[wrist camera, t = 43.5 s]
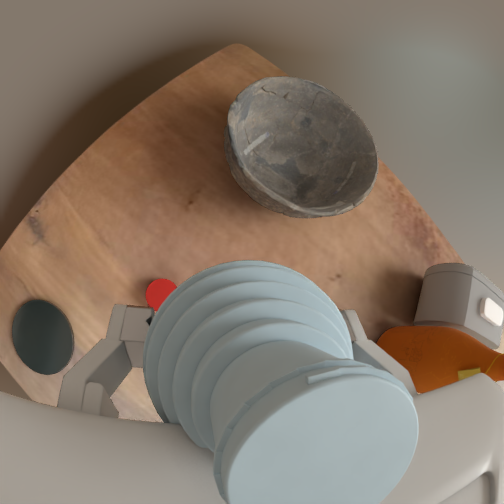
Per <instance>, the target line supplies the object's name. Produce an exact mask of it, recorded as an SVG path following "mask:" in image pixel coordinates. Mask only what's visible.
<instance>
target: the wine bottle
mask: <svg viewBox="0 0 504 504" xmlns="http://www.w3.org/2000/svg"><path fill="white" fill-rule="evenodd" d="M376 345H378V346H379V347H380V348H381V349H382V350H384V351H385V352H386V353H387V354H388V355H390V356H391V357H392V358H393V359H395V360H396V361H397V362H398V363H399V364H400V365H402V366H403V367H404V368H405V369H406V370H408V372H409V374H410V377H411V379H412V381H413V384H414V386H415V389H416V391H417V392H418V393H425V392H428V391H431V390H434V389H437V388H440V387H443V386H446V385H449V384H452V383H455V382H457V381H460V380H463V379H465V378H468V377H470V376H473V375H475V374H478V373H484V374H486V375H487V376H489V377H490V378H491V379H492V380H493V381H495V382H497V381H500V380H504V354H501V353H498V352H496V351H494V350H492V349H490V348H489V347H487V346H486V345H484V344H483V343H481V342H480V341H478V340H477V339H475V338H474V337H472V336H470V335H468V334H466V333H464V332H462V331H460V330H457V329H454V328H450V327H443V326H398V327H393V328H390V329H388V330H387V331H386V332H384V333H383V334H382V336H381V337H380V338H379V340H378V341H377V343H376Z"/></svg>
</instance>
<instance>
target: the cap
mask: <svg viewBox="0 0 504 504" xmlns="http://www.w3.org/2000/svg"><path fill="white" fill-rule="evenodd" d="M176 288H177V287H176V285H175V284H174V283H173V282H171V281H170V280H167V279H157V280H155V281H153V282H152V283H151V284H150V285H149V286H148V288H147V290H146V300H147V303H148V305H149V306H150V307H153V308H154V310H155V311H158V309H159V307H160V306H161V304H162V303H163V302H164V301H165V299H166V298H167V297H168V296H169V295H170V293H172V292H173V291H174V290H175V289H176Z"/></svg>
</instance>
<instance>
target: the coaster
mask: <svg viewBox="0 0 504 504" xmlns="http://www.w3.org/2000/svg"><path fill="white" fill-rule="evenodd" d="M12 337H13V342H14V346H15V349H16V351H17V353H18V355H19V357H20V358H21V360H22V361H23V362H24V363H25V364H26V365H27V366H28V367H29V368H30V369H32V370H33V371H35V372H37V373H40V374H45V375H50V374H55V373H58V372H59V371H61V370H63V369H64V368H65V367H66V366H67V365H68V363H69V362H70V360H71V358H72V355H73V350H74V336H73V331H72V328H71V325H70V323H69V321H68V319H67V317H66V316H65V314H64V313H63V312H62V311H61V310H60V309H59V308H58V307H57V306H56V305H54V304H53V303H51V302H48V301H45V300H32V301H29V302H27V303H25V304H24V305H23V306H22V307H21V308H20V309H19V310H18V312H17V313H16V315H15V318H14V321H13V326H12Z"/></svg>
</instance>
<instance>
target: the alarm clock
mask: <svg viewBox="0 0 504 504" xmlns="http://www.w3.org/2000/svg"><path fill="white" fill-rule="evenodd" d="M503 323H504V294H503V292H502V291H501V290H500V289H499V288H498V287H497V286H496V285H494V283H492V282H491V281H490V280H489V279H488V278H487V277H486V276H485V275H483V274H482V273H481V272H479V271H478V270H476V269H475V268H474V267H472V266H469V265H465V264H460V263H444V264H438V265H434V266H432V267H430V268H428V269H427V270H426V272H425V275H424V280H423V285H422V290H421V294H420V299H419V303H418V307H417V311H416V315H415V319H414V325H415V326H443V327H450V328H454V329H457V330H460V331H462V332H464V333H466V334H468V335H470V336H472V337H474V338H475V339H477V340H478V341H480V342H481V343H483V344H484V345H486V346H487V347H489V348H490V349H497V348H498V347H499V345H500V340H501V335H502V329H503Z"/></svg>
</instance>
